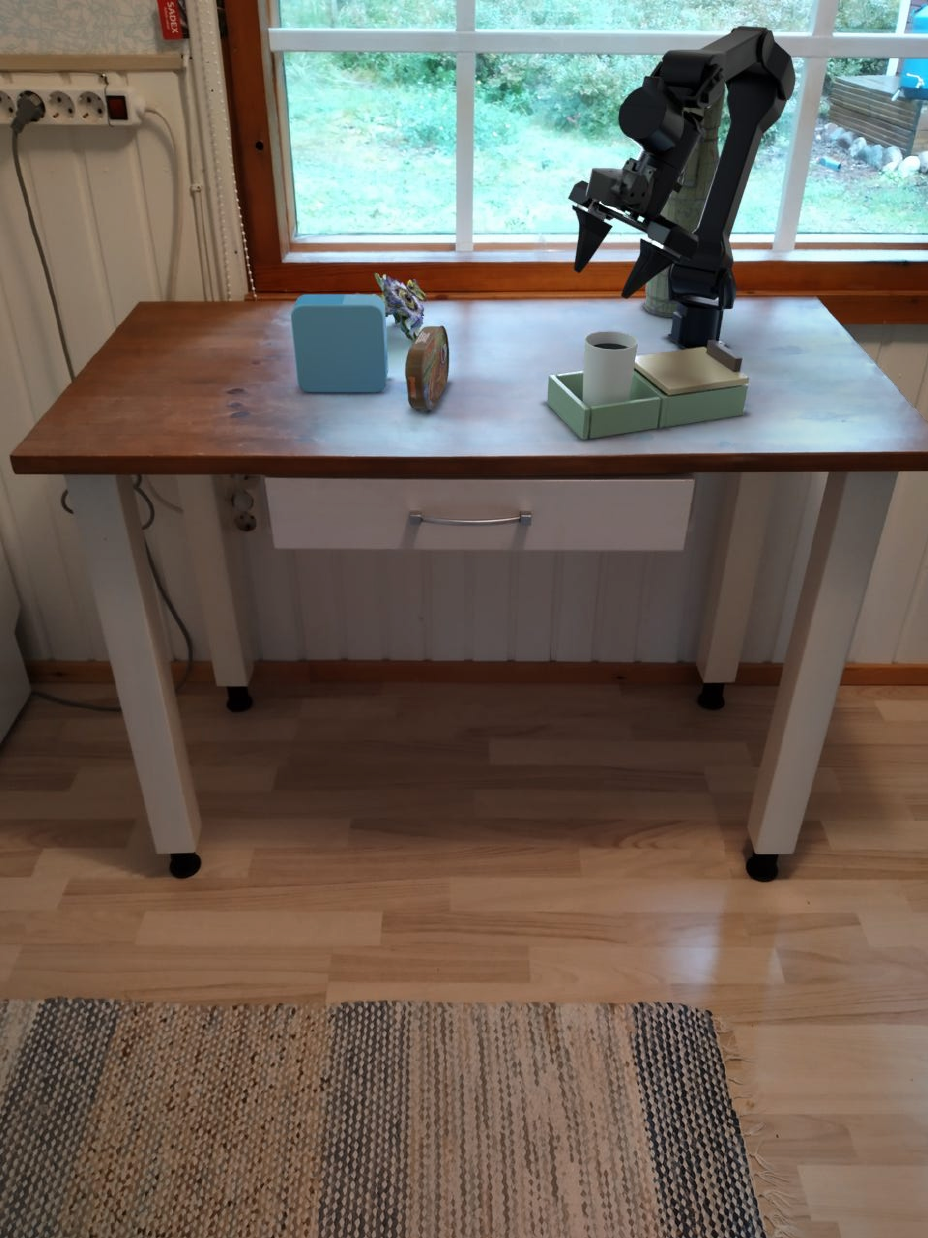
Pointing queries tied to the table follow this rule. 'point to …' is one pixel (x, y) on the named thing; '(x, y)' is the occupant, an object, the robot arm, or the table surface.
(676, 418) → the storage box
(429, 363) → the tin
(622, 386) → the white cup
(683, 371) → the sliding lid
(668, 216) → the thermos
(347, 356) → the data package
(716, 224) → the robot arm
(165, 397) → the table surface
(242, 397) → the table surface
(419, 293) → the passion flower
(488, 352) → the table surface
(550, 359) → the table surface
